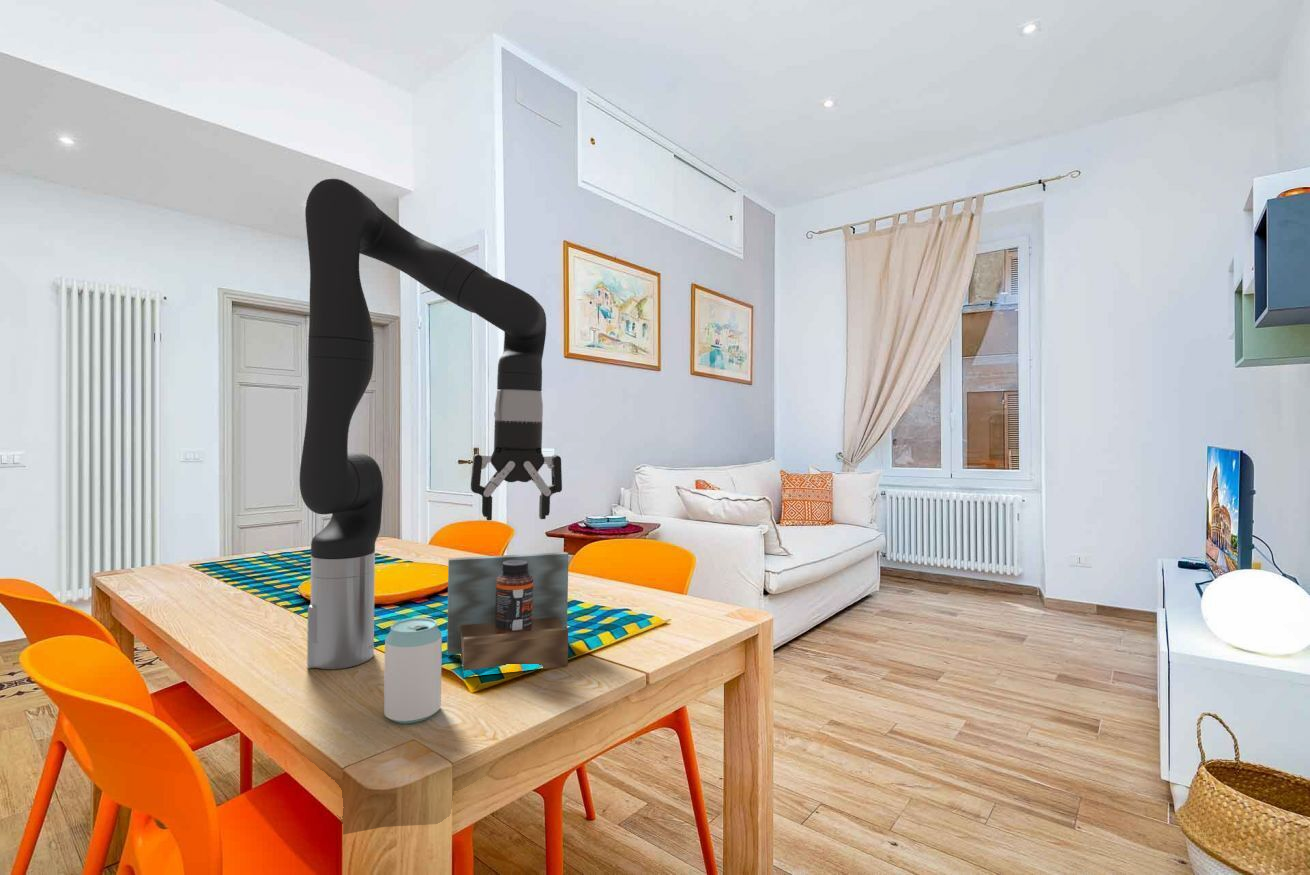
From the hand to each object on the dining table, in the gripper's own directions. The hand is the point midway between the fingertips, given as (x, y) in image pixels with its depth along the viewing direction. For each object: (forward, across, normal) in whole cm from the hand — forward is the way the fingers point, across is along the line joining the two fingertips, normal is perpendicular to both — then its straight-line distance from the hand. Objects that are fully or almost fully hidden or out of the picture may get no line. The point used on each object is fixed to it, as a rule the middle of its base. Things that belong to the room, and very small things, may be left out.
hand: (516, 519), depth 100 cm
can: (+24, -15, -14) cm, 31 cm away
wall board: (+23, 0, +1) cm, 23 cm away
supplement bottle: (+18, 0, 0) cm, 19 cm away
